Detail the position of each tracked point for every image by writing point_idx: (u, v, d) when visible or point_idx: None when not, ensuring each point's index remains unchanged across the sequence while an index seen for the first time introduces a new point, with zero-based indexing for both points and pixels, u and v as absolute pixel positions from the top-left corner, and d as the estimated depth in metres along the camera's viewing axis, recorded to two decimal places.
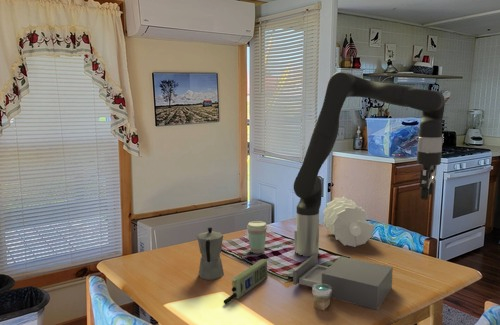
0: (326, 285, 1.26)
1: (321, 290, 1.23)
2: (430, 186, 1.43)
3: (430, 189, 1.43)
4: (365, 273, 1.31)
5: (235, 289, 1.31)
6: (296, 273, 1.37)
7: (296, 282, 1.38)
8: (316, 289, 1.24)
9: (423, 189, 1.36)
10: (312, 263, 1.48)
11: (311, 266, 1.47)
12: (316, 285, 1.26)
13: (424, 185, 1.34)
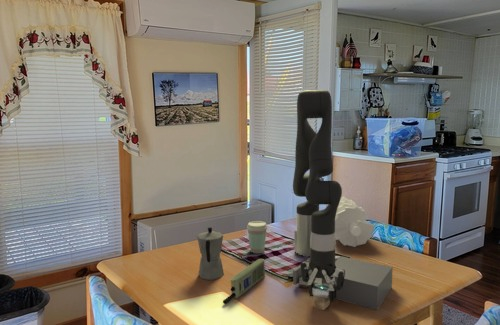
0: (326, 285, 1.26)
1: (321, 290, 1.23)
2: None
3: None
4: (365, 273, 1.31)
5: (234, 289, 1.31)
6: (296, 273, 1.37)
7: (296, 282, 1.38)
8: (316, 289, 1.24)
9: (335, 291, 1.22)
10: None
11: None
12: (316, 285, 1.26)
13: (341, 286, 1.21)
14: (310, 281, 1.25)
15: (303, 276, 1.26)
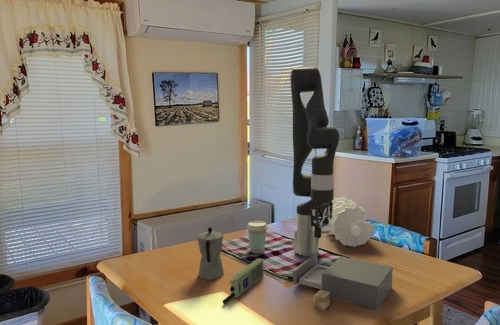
0: None
1: (326, 225, 1.38)
2: None
3: None
4: (365, 273, 1.31)
5: (233, 289, 1.31)
6: (296, 273, 1.37)
7: (296, 282, 1.38)
8: (326, 226, 1.37)
9: None
10: (312, 263, 1.48)
11: (311, 266, 1.47)
12: None
13: None
14: (321, 223, 1.35)
15: (318, 222, 1.33)
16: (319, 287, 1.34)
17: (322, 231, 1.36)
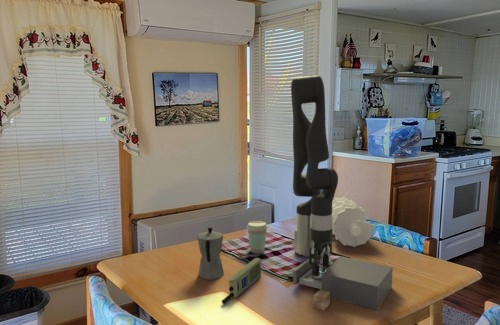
0: None
1: None
2: None
3: None
4: (365, 273, 1.31)
5: (232, 289, 1.31)
6: (296, 273, 1.37)
7: (296, 282, 1.38)
8: None
9: None
10: None
11: (311, 266, 1.47)
12: None
13: None
14: (319, 262, 1.36)
15: (316, 261, 1.34)
16: (319, 287, 1.34)
17: (321, 278, 1.38)
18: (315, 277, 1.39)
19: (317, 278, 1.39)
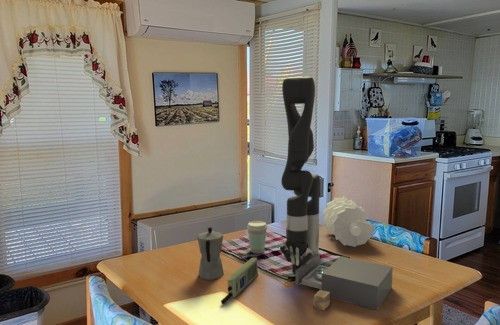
0: (318, 269, 1.42)
1: None
2: None
3: None
4: (365, 273, 1.31)
5: (231, 288, 1.31)
6: (298, 274, 1.37)
7: (298, 283, 1.37)
8: None
9: (300, 265, 1.43)
10: (314, 264, 1.47)
11: (313, 267, 1.47)
12: (318, 273, 1.39)
13: None
14: (293, 260, 1.43)
15: (286, 257, 1.44)
16: None
17: None
18: (317, 277, 1.39)
19: (319, 278, 1.38)
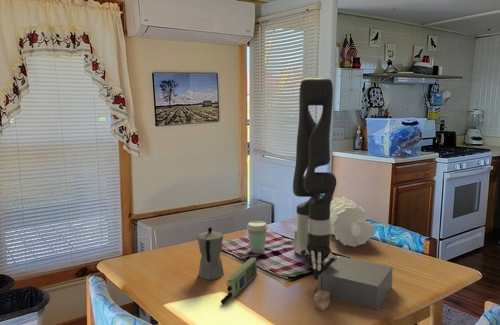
0: None
1: None
2: None
3: None
4: (365, 273, 1.31)
5: (231, 288, 1.31)
6: (321, 279, 1.32)
7: (321, 288, 1.33)
8: None
9: (321, 270, 1.38)
10: None
11: None
12: None
13: None
14: (314, 265, 1.39)
15: (307, 262, 1.40)
16: None
17: None
18: None
19: None
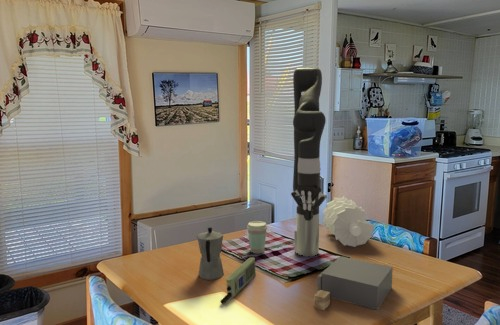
0: None
1: None
2: None
3: None
4: (365, 273, 1.31)
5: (230, 288, 1.31)
6: (321, 279, 1.32)
7: (321, 288, 1.33)
8: None
9: (312, 211, 1.39)
10: None
11: None
12: None
13: None
14: (304, 206, 1.39)
15: (298, 203, 1.40)
16: None
17: None
18: None
19: None
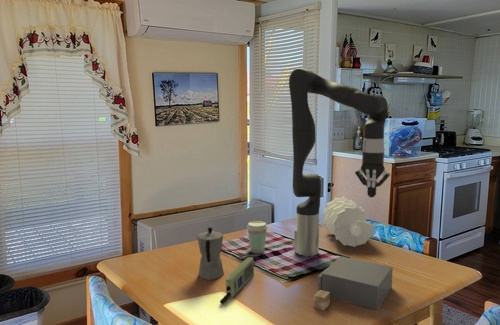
0: None
1: None
2: None
3: None
4: (365, 273, 1.31)
5: (229, 288, 1.31)
6: (321, 279, 1.32)
7: (321, 288, 1.33)
8: None
9: (375, 188, 1.50)
10: None
11: None
12: None
13: (380, 183, 1.49)
14: (368, 183, 1.50)
15: (362, 181, 1.51)
16: None
17: None
18: None
19: None
